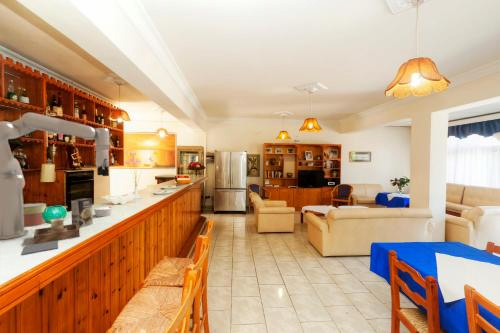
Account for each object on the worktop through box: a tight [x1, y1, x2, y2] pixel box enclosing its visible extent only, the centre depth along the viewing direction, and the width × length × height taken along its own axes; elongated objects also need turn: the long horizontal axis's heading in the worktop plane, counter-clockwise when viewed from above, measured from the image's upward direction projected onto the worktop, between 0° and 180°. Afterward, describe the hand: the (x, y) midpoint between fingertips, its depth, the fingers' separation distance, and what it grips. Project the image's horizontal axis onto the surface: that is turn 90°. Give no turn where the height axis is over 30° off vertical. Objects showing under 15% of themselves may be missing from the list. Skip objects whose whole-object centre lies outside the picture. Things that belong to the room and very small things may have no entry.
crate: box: [33, 223, 81, 245], centre depth 130 cm, size 18×14×4 cm
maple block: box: [50, 217, 65, 233], centre depth 130 cm, size 5×5×6 cm
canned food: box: [23, 202, 47, 228], centre depth 154 cm, size 11×11×12 cm
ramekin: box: [93, 206, 113, 218], centre depth 177 cm, size 11×11×5 cm
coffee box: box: [71, 197, 94, 229], centre depth 150 cm, size 9×6×16 cm
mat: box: [22, 240, 59, 256], centre depth 115 cm, size 12×12×1 cm
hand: (103, 175), depth 155 cm, fingers open, 9 cm apart
